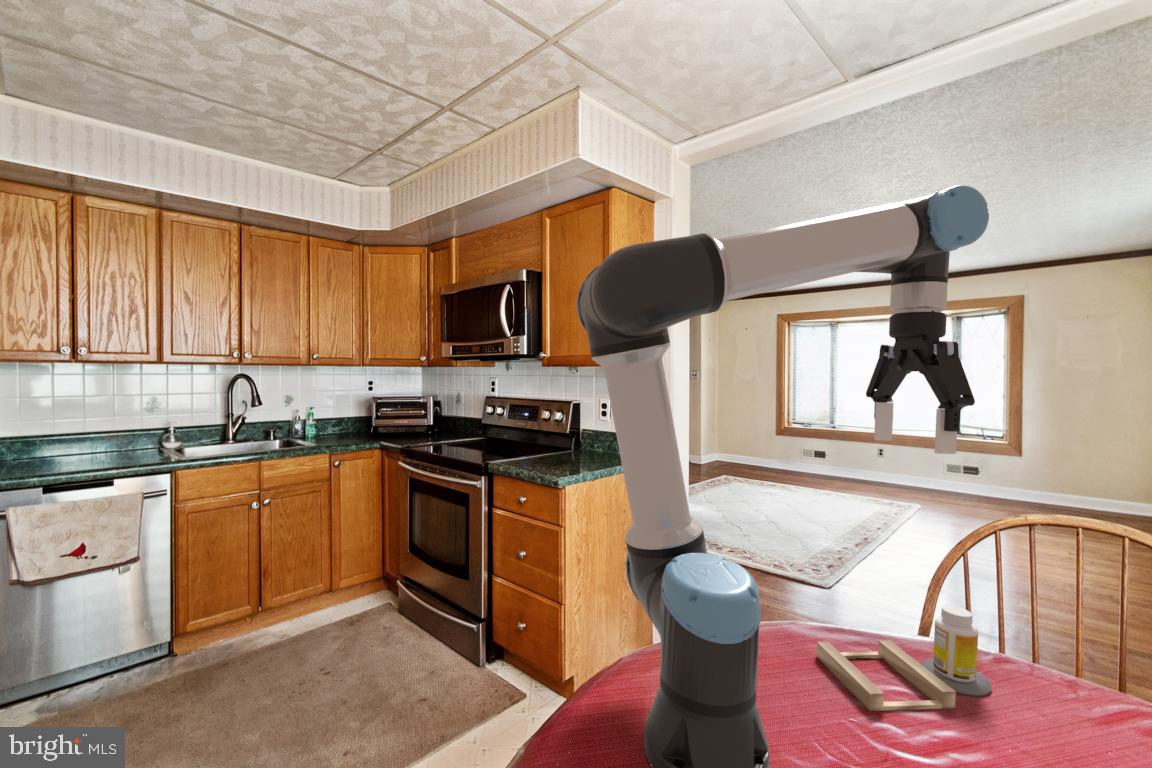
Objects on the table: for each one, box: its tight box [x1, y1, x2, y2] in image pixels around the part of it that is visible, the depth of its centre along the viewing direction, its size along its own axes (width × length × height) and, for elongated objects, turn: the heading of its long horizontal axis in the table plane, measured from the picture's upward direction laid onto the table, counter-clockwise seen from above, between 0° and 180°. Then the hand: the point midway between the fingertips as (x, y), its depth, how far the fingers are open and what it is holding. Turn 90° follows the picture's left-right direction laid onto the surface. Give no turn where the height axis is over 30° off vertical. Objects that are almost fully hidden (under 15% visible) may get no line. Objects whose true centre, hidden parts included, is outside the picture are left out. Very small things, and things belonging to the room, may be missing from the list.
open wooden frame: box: [816, 639, 957, 712], centre depth 82 cm, size 13×14×2 cm
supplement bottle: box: [932, 605, 979, 683], centre depth 83 cm, size 6×6×10 cm
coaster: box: [920, 658, 992, 697], centre depth 83 cm, size 9×9×1 cm
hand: (911, 446), depth 83 cm, fingers open, 13 cm apart
